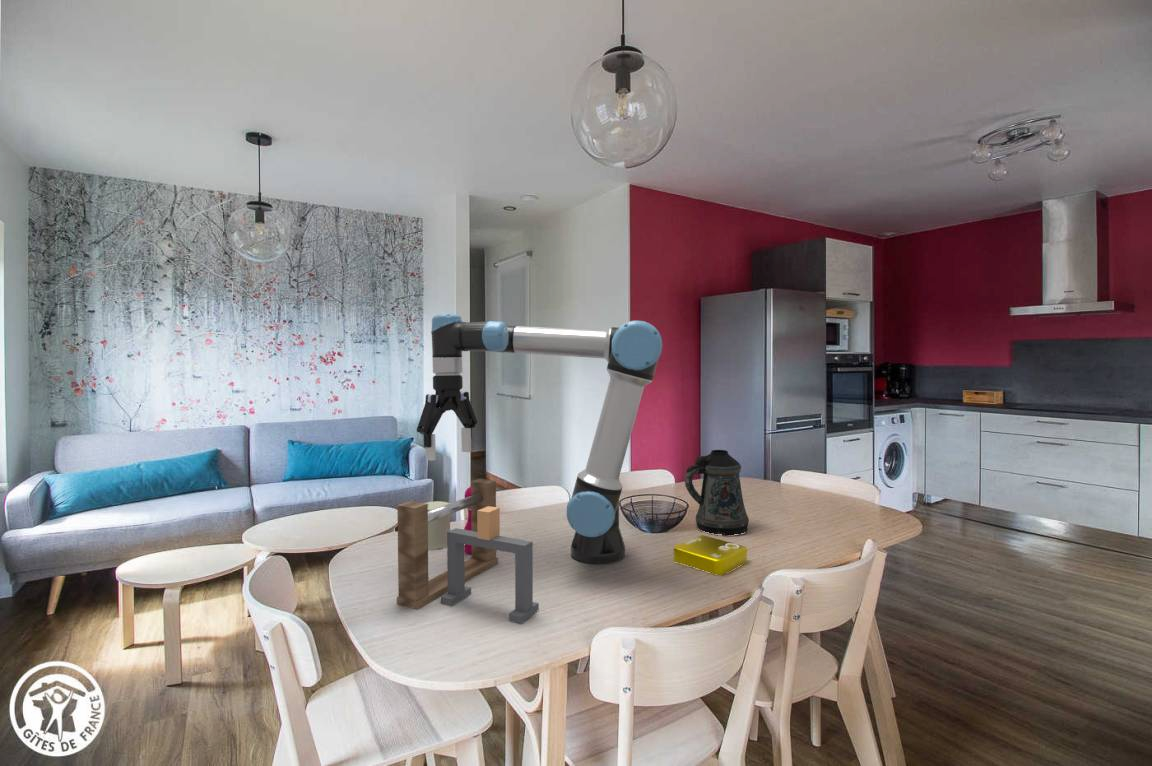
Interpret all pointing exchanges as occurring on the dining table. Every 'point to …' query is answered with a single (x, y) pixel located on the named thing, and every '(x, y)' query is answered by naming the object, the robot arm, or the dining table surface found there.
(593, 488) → the robot arm
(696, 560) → the element tile
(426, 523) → the rack
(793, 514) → the dining table surface
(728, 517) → the beer stein
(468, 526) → the pepper mill
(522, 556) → the grey arch gate
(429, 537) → the can
